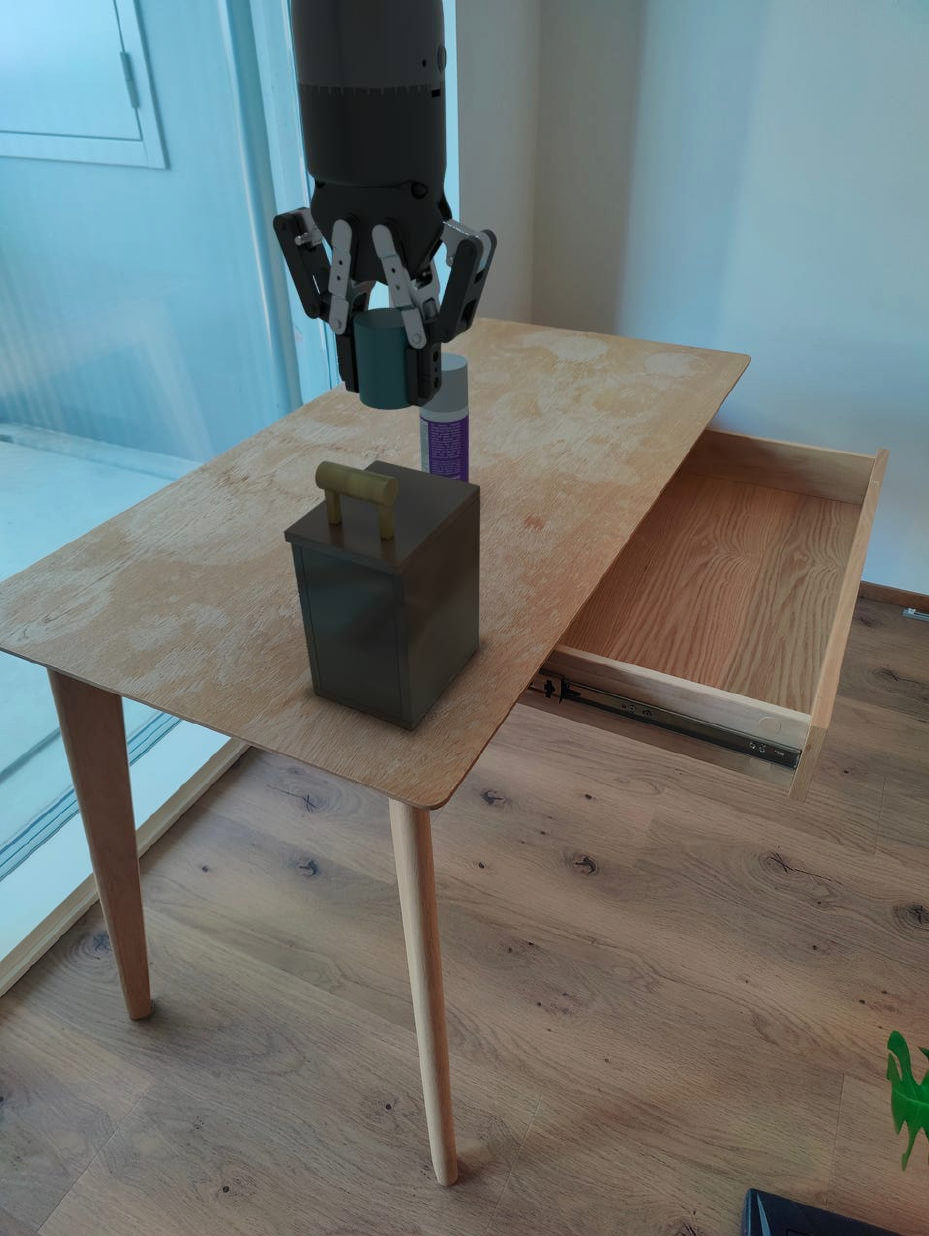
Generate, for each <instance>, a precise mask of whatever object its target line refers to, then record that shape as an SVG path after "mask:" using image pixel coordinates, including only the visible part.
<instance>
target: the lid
mask: <svg viewBox="0 0 929 1236" xmlns="http://www.w3.org/2000/svg"><path fill="white" fill-rule="evenodd" d="M314 482H315V485H316V487H317V488H318V489H320V490H322V491H323V492H324V493H323V494H324V499H323V500H322V501H320V503H318V504H317V505H316V506H315V507H313V508H312V509H310V510H309V511H308V512H306V514H304V515H303V516H301V517H300V518H299V519H297V520H296V521H295V522H294V523H292V524H291V525H290V526H288V527H287V528H286V529H284V531H283V535H284V541H285V543H288V544H291V543H292V544H296V545H299V546H302V547H305V548H309V549H312V550H315V551H318V552H322V553H325V554H328V555H331V556H335V557H338V558H341V559H345V560H348V561H351V562H354V563H358V564H361V565H364V566H367V567H371V568H374V569H377V570H380V571H384V572H387V573H390V574H394V575H397V576H399V575H400V574H401V573H402V572H403V571H404V570H405V569H406V568H407V567H408V566H409V565H410V564H411V563H412V562H413V561H414V560H415V559H416V558H417V557H418V556H419V555H420V554H421V553H422V552H423V551H424V550H425V549H426V548H427V547H428V546H429V545H430V544H431V543H432V542H433V541H435V540H436V539H437V538H438V537H439V536H440V535H441V534H442V533H443V532H444V531H445V530H446V529H447V528H448V527H449V526H450V525H451V524H452V523H453V522H454V521H455V520H456V519H457V518H458V517H459V516H460V515H461V514H462V513H463V512H464V511H465V510H466V509H467V508H468V507H469V506H470V505H471V504H472V503H473V502H474V501H475V500H476V499H477V498H478V497H479V496H480V497H481V485H478V484H474V483H470V482H469V483H467V482H463V481H459V480H455V479H451V478H447V477H443V476H439V475H435V474H431V473H427V472H423V471H422V470H418V469H415V468H411V467H407V466H403V465H399V464H395V463H390V462H386V461H382V460H378V459H375V460H374V461H373V462H371V463H370V464H369V465H367V466H366V467H365V468H364V469H360V468H357V467H353V466H349V465H345V464H341V463H337V462H333V461H329V460H323V461H321V462H320V463H319V464H318V466H317V468H316V471H315V475H314Z"/></svg>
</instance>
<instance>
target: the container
mask: <svg viewBox="0 0 929 1236" xmlns="http://www.w3.org/2000/svg"><path fill="white" fill-rule="evenodd" d="M441 362H442V368H441V369H442V375H441V376H442V385H441V388H440V391H439V392H438V393H436V394H435V395H434V398H433V399H432V400H431V401H429V402H428V403H427V404H425V405H424V406H422V407H418V409H419V410H418V415H419V416H418V417H419V441H420V463H421V471H423V472H427V473H431V474H435V475H439V476H443V477H447V478H451V479H455V480H459V481H463V482H467V483H470V473H469V472H470V408H469V407H470V406H469V405H470V404H469V402H470V401H469V374H468V373H469V369H468V368H469V367H468V366H469V365H468V359H467V358H466V357H465V356H463V355H461V354H458V353H452V352H441Z"/></svg>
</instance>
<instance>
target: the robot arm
mask: <svg viewBox="0 0 929 1236" xmlns="http://www.w3.org/2000/svg"><path fill="white" fill-rule="evenodd" d="M443 2H444V1H443V0H290V22H291V23H290V24H291V32H292V33H291V34H292V43H293V52H294V62H295V70H296V72H295V73H296V80H297V81H296V82H297V89H298V90H297V92H298V99H299V101H298V102H299V107H300V108H299V109H300V110H299V111H300V119H301V127H302V137H303V144H304V145H303V147H304V156H305V166H306V170H307V173H308V174H309V175H310V176H311V177H312V178H313V179H314V188H313V193H312V196H311V199H310V203H309V204H310V205H309V207H307V206H301V207H297V208H294V209H292V210H289V211H286V212H283V213H279V214H276V215H275V216H274V217H273V219H272V228H273V231H274V233H275V236H276V239H277V242H278V244H279V247H280V249H281V252H282V255H283V257H284V260H285V262H286V265H287V268H288V271H289V274H290V276H291V279H292V282H293V284H294V287H295V290H296V292H297V296H298V299H299V301H300V303H301V306H302V309H303V311H304V313H305V315H306V316H307V317H308V318H309V319H311V320H317V319H319V320H321V321H323V322H324V323H326V324H328V326H329V328H330V329H331V332H333V333H334V339H335V348H336V357H337V368H338V369H337V370H338V375H339V377H340V379H341V381H342V382H344V387H345V390H346V391H347V392H350V393H353V394H359V385H358V373H357V361H356V350H355V338H354V326H353V318H354V316H355V315H357V314H358V313H360V312H363V311H366V310H369V308H370V301H371V296H372V295H371V294H372V291H373V289H375V287H376V284H377V282H378V283H380V284H382V285H384V286H386V287H388V290H389V293H390V297H391V301H392V305H393V306H394V308H396V309H398V310H399V311H400V312H401V315H402V319H403V322H404V326H405V330H406V333H407V337H408V341H409V343H410V344H411V345H410V346H408V347H407V348H406V363H407V384H408V402H409V404H410V405H413V406H412V407H418V408H419V407H422V406H424V405H425V404H427V403H428V402H429V401H431V400H432V399H433V398H434V395H435V394H436V393H438V392H439V391H440V388H441V385H442V376H441V375H442V369H441V368H442V362H441V353H442V344H448V343H450V342H453V340H454V339H455V338H456V337H458V336H460V335H461V334H463V333H466V332H467V331H469V330H470V329H471V328H472V325H473V323H474V319H475V316H476V313H477V310H478V307H479V304H480V301H481V297H482V293H483V291H484V288H485V284H486V281H487V277H488V275H489V271H490V268H491V265H492V262H493V259H494V255H495V252H496V249H497V246H498V238H497V236H496V234H495V232H493V230H491V229H487V228H485V229H482V230H480V231H476V230H475V229H472V228H470V227H469V226H467V225H465V224H463V223H461V222H459V221H457V220H455V219H454V218H453V217H454V215H453V212H452V209H451V206H450V204H449V202H448V199H447V196H446V192H445V179H446V174H447V168H448V167H447V166H448V161H447V159H448V157H447V155H448V154H447V153H448V152H447V148H448V147H447V92H446V89H447V88H446V86H447V85H446V68H447V60H448V55H447V49H446V33H445V32H446V31H445V30H446V28H445V13H444V11H445V9H444V3H443ZM323 240H325V242H326V243H327V245H328V246H329V248H330V250H331V251H332V253H331V254H332V255H331V262H330V260H329V256H328V254H327V251H326V248H325V245H324V242H323ZM443 244H444V246H445V248H446V255H445V264H446V266H447V267H449V268H450V271H449V275H448V278H447V282H446V287H445V289H444V293H443V296H442V300H441V302H440V297H439V296H440V293H441V282H440V279H439V274H438V271H437V267H436V262H435V259H434V257H435V256H436V254H437V252H438V251H439V249H440V248H441V247H442V245H443ZM413 281H415V283H414V285H413V284H412V282H413Z"/></svg>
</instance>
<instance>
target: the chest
mask: <svg viewBox="0 0 929 1236" xmlns="http://www.w3.org/2000/svg"><path fill="white" fill-rule="evenodd" d="M290 546H291V547H290V548H291V552H292V559H293V566H294V572H295V579H296V585H297V586H296V587H297V592H298V599H299V605H300V611H301V612H300V613H301V618H302V622H303V623H302V624H303V631H304V637H305V645H306V650H307V656H308V662H309V669H310V675H311V682H312V689H313V693H314V695H318V696H320V697H323V698H326V699H328V700H331V701H333V702H335V703H338V704H341V705H344V706H345V707H346V706H347V707H348V708H351V709H354V710H357V711H359V712H362V713H365V714H367V715H369V716H372V717H375V718H378V719H380V720H383V721H386V722H388V723H390V724H393V725H395V726H398V727H401V728H403V729H406V730H409V731H411V732H412V731H414V729H415V728H416V727H417V726H418V724H419V723H420V722H421V721H422V720H423V718H424V717H425V715H426V714H428V712H429V711H430V709H431V708H432V707H433V706H434V704H435V703H436V702H437V701H438V699H439V698H440V697H441V696H442V694H443V693H444V692H445V690H446V689H447V688H448V687H449V686H450V684H451V683H452V682H453V680H454V679H455V678H456V677H457V675H458V674H459V673H460V672H461V670H462V669H463V668H464V666H466V664H467V663H468V662H469V660H470V659H471V658H472V657H473V656H474V654H475V653H476V651H477V650H478V649H479V647H480V572H481V571H480V568H481V567H480V564H481V563H480V561H481V559H480V558H481V557H480V555H481V553H480V552H481V495H480V496H479V497H478V498H477V499H476V500H475V501H474V502H473V503H472V504H471V505H470V506H469V507H468V508H467V509H466V510H465V511H464V512H463V513H462V514H461V515H460V516H459V517H458V518H457V519H456V520H455V521H454V522H453V523H452V524H451V525H450V526H449V527H448V528H447V529H446V530H445V531H444V532H443V533H442V534H441V535H440V536H439V537H438V538H437V539H436V540H435V541H433V542H432V543H431V544H430V545H429V546H428V547H427V548H426V549H425V550H424V551H423V552H422V553H421V554H420V555H419V556H418V557H417V558H416V559H415V560H414V561H413V562H412V563H411V564H410V565H409V566H408V567H407V568H406V569H405V570H404V571H403V572H402V573H401V574H400V575H399V576H397V575H394V574H390V573H387V572H384V571H380V570H377V569H374V568H371V567H367V566H364V565H361V564H358V563H354V562H351V561H348V560H345V559H341V558H338V557H335V556H331V555H328V554H325V553H322V552H318V551H315V550H312V549H309V548H305V547H302V546H299V545H296V544H292V543H290Z"/></svg>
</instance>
